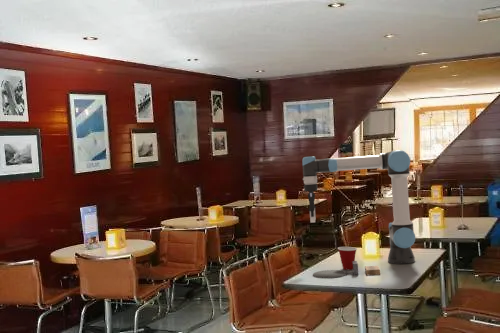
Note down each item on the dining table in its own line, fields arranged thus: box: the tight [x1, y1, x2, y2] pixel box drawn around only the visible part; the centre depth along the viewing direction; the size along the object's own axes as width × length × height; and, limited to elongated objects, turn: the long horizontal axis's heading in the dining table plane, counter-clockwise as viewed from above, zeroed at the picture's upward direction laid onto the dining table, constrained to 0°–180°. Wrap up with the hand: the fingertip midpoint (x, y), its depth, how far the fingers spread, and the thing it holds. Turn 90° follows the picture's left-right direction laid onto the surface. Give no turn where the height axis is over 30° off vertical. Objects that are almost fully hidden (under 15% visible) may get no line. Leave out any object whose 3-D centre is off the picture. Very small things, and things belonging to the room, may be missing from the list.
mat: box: [312, 269, 347, 279], centre depth 304 cm, size 18×18×1 cm
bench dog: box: [352, 260, 359, 276], centre depth 302 cm, size 2×8×6 cm, turn 173°
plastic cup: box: [337, 246, 358, 271], centre depth 315 cm, size 11×11×12 cm
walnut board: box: [364, 265, 381, 276], centre depth 301 cm, size 7×10×3 cm
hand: (313, 221), depth 318 cm, fingers open, 13 cm apart
